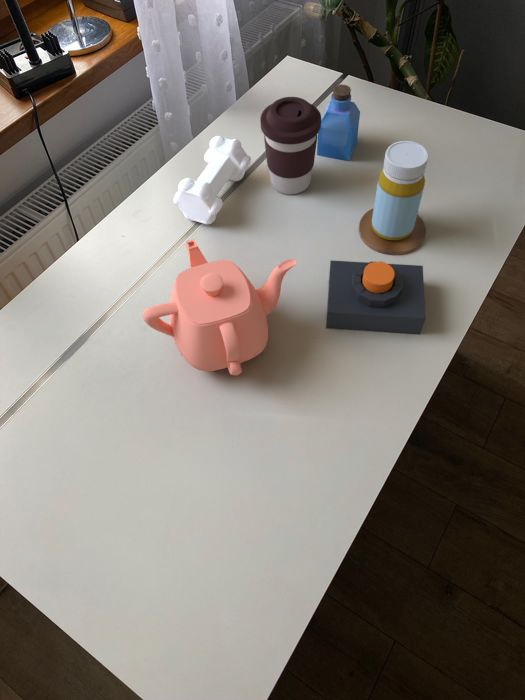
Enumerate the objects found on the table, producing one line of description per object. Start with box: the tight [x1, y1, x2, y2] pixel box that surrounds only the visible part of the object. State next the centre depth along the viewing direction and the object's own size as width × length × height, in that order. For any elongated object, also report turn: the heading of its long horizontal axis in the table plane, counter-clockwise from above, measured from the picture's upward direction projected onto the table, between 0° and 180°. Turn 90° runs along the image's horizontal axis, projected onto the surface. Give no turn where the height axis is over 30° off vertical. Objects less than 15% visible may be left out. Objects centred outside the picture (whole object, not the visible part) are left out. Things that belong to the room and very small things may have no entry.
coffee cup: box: [259, 96, 322, 195], centre depth 103 cm, size 10×10×15 cm
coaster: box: [358, 207, 427, 256], centre depth 101 cm, size 11×11×1 cm
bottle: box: [372, 140, 429, 241], centre depth 94 cm, size 7×7×15 cm
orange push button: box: [362, 261, 395, 294], centre depth 87 cm, size 4×4×2 cm
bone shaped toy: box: [173, 135, 252, 225], centre depth 104 cm, size 15×9×8 cm, turn 156°
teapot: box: [142, 239, 297, 376], centre depth 85 cm, size 16×17×14 cm
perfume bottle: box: [316, 84, 361, 162], centre depth 109 cm, size 6×6×12 cm
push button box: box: [325, 259, 426, 336], centre depth 90 cm, size 14×10×6 cm
